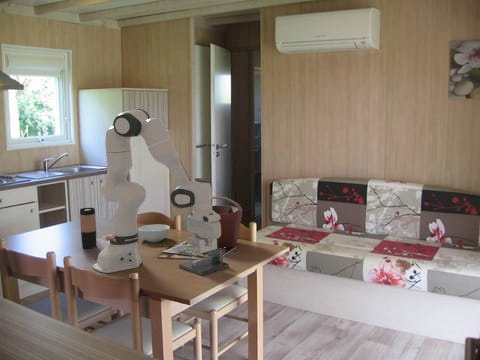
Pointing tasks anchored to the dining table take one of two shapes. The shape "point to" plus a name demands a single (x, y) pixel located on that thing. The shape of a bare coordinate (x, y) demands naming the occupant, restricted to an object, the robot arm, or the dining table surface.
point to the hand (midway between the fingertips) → (203, 244)
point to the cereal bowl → (154, 232)
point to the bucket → (228, 223)
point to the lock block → (202, 244)
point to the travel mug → (88, 228)
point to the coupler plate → (204, 268)
